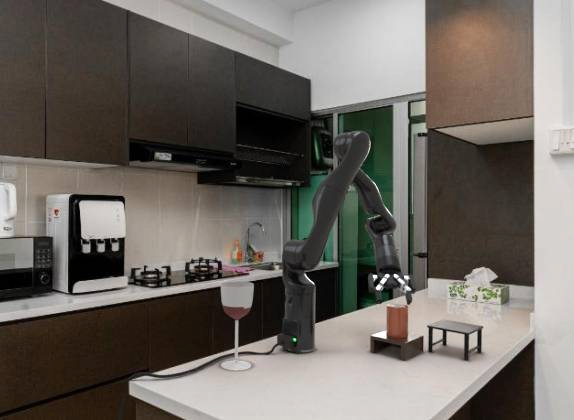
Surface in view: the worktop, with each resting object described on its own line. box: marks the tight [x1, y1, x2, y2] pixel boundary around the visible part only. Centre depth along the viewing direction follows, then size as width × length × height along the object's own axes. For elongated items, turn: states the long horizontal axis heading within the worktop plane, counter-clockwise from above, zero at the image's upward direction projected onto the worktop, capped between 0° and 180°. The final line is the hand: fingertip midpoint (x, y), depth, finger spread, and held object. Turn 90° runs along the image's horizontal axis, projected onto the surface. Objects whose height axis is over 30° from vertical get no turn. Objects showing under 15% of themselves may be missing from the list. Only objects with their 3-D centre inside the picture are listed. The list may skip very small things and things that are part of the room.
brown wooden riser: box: [369, 329, 425, 361], centre depth 142 cm, size 12×11×5 cm
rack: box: [426, 318, 484, 362], centre depth 143 cm, size 12×12×8 cm
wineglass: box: [220, 281, 255, 371], centre depth 129 cm, size 9×10×22 cm
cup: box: [385, 303, 409, 338], centre depth 142 cm, size 6×6×9 cm
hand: (394, 303), depth 146 cm, fingers open, 8 cm apart
